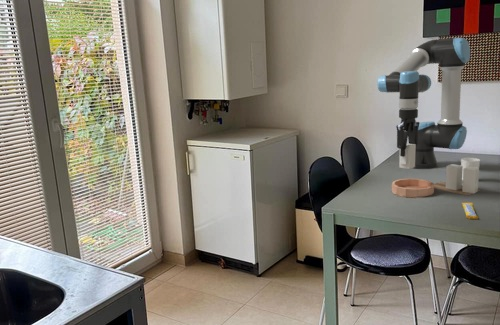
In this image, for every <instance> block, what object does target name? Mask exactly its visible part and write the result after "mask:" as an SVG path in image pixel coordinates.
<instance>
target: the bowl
mask: <svg viewBox="0 0 500 325" xmlns="http://www.w3.org/2000/svg"><path fill="white" fill-rule="evenodd" d="M434 184H435V183H434V182H431V181H429V180H425V179H421V178H420V179H419V178H400V179H396V180H394V181H392V183H391V193H392V194H393V195H395V196H398V197H401V198H406V199H416V198H420V197H422V198H424V197H428V196H431V195H434V193H435V189H434Z"/></svg>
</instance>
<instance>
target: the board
mask: <svg viewBox="0 0 500 325" xmlns="http://www.w3.org/2000/svg"><path fill="white" fill-rule="evenodd" d="M462 189H463V185H462V188H461V189H458V190H452V189H447V188H446V181H438V182H436V183H434V190H438V191H443V192H450V193H454V194H458V195H464V196H470V195H472V194H474V193H468V192H462ZM482 190H483V188H478V191H477V192H479V191H482ZM477 192H476V193H477Z"/></svg>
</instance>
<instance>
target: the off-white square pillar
mask: <svg viewBox="0 0 500 325" xmlns="http://www.w3.org/2000/svg"><path fill="white" fill-rule="evenodd" d="M479 173H480V167H479V168H475V167H466V168H464V169H463V180H462V186H463V189H462V192H468V193H473V194H475V193H477V191H478V189H479V178H480V177H479V176H480V174H479ZM478 192H479V191H478Z"/></svg>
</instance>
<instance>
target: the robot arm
mask: <svg viewBox="0 0 500 325" xmlns="http://www.w3.org/2000/svg"><path fill="white" fill-rule="evenodd" d="M470 58H471V47H470V44H469V41H468V40H467V39H466V38H464V37H453V38H452V37H451V38H440V39H439V38H437V39H431V40H428V41H426V42H423V43H422V44H419V45H418V46H416V47H415V48H414V49H413V50H412V51H411V52H410V54H409V56H408V57H407V58H406V59H405V60H404V61H403V62H402V63H400V64H399V65H398V66H397V67H396V68H395V69H393V71H392V72H391V73H390V74H388V75H381V76H379V77H378V78H377V90H378V91H379V92H380V93H386V94H387V93H399V96H398V98H399V99H398V100H399V102H398V107H399V109H398V110H399V111H398V118H400V119H401V120H400V123H399V124H396V126H395V127H396V148H398V149H399V157H400V156H401V157H400V163H401V164H407V149H406V145H407V143H409V144H416V149H415V167H414V168H413V169H421V170H423V169H426V170H427V169H434V168H437V167H438V162H437V158H436V156H435V155H436V154H435V151H434V150H435V148H439V149H448V150H458V149H459V150H460V149H461V148H462V147H463V145H464V144H465V141H466V138H467V133H468V130H467V127H466V126H464V125H463V124H464V122H463V120H461V119H460V115H461V114H460V113H461V112H460V111H461V88H462V87H461V85H462V70H463V69H464V68H465V66H466V63H469V61H470ZM430 64H431V65H432V64H433V65H434V64H438V68H439V69H440V70H441V97H440V98H441V99H440V100H441V102H440V119H439V120H438V121H437V124H436V122H435V121H422V122H419V121H417V120H416V119H417V118H419V115H418V114H419V109H418V108H419V93H425V92H426V91H428V90H429V89H430V88H431V86H432V79H431V78H430V76H428V75H427V74H420V72H419V69H420V68H423V67H425V66H427V65H430Z"/></svg>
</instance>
